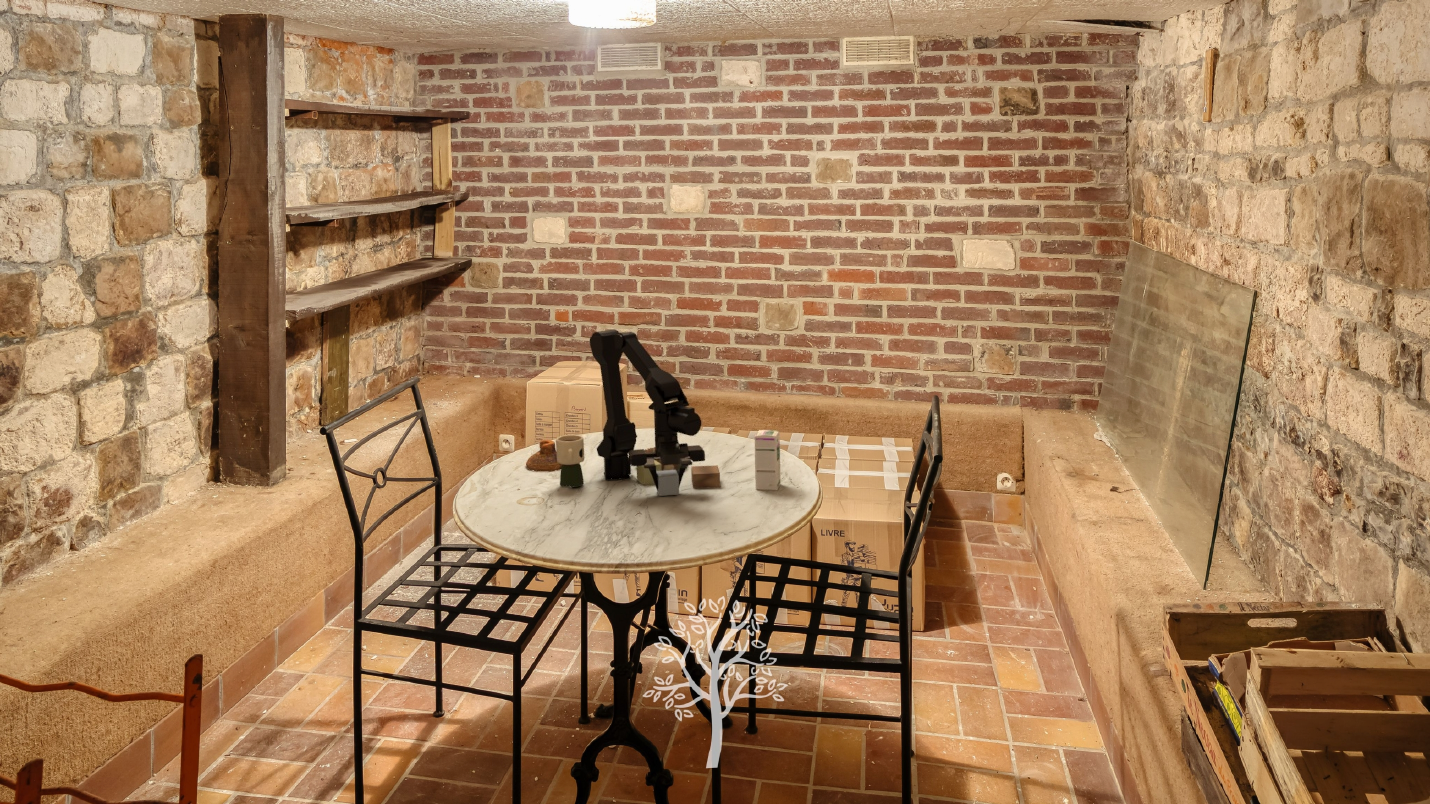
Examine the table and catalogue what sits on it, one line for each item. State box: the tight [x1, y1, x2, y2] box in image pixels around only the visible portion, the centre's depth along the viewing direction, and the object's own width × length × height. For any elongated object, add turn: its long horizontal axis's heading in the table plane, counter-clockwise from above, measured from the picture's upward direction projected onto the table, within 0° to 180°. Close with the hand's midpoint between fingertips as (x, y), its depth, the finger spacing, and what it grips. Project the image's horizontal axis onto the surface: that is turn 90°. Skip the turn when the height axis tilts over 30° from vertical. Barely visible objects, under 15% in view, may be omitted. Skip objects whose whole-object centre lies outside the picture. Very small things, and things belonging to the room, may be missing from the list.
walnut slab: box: [690, 464, 721, 489], centre depth 264 cm, size 7×7×4 cm
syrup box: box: [754, 429, 781, 491], centre depth 259 cm, size 6×6×14 cm
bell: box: [525, 439, 562, 472], centre depth 281 cm, size 12×12×7 cm
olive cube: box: [636, 460, 662, 486], centre depth 266 cm, size 5×5×5 cm
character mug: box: [555, 434, 585, 488], centre depth 262 cm, size 11×7×13 cm, turn 9°
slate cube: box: [656, 470, 680, 497], centre depth 255 cm, size 5×5×5 cm
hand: (667, 488), depth 256 cm, fingers closed on slate cube, 5 cm apart
